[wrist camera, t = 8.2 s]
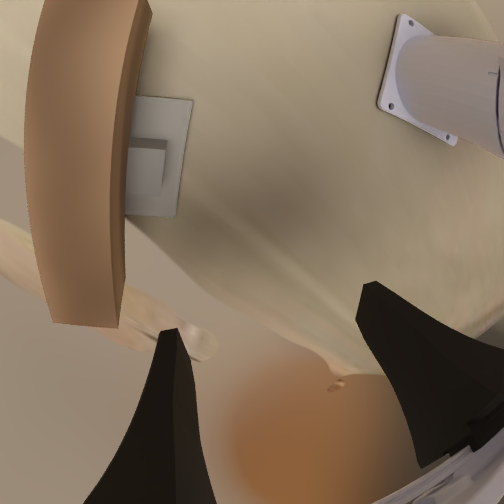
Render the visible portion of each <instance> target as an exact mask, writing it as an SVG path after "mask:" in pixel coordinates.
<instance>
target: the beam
mask: <svg viewBox="0 0 504 504" xmlns="http://www.w3.org/2000/svg"><path fill="white" fill-rule="evenodd" d="M152 14H153V13H152V11H151V8H150V6H149V3H148V1H147V0H45V2H44V5H43V8H42V12H41V16H40V19H39V23H38V27H37V32H36V36H35V41H34V46H33V51H32V56H31V62H30V69H29V76H28V84H27V93H26V105H25V124H24V162H25V182H26V193H27V204H28V212H29V220H30V227H31V233H32V239H33V245H34V250H35V255H36V260H37V265H38V269H39V273H40V278H41V282H42V286H43V289H44V293H45V297H46V300H47V304H48V307H49V310H50V314H51V317H52V320H53V322H54V323H62V324H71V325H81V326H92V327H104V328H118V325H119V317H120V309H121V302H122V296H123V289H124V283H125V244H124V241H125V239H124V229H125V228H124V227H125V226H124V225H125V190H126V172H127V159H128V148H129V138H130V129H131V120H132V113H133V106H134V99H135V93H136V87H137V81H138V75H139V70H140V65H141V60H142V55H143V51H144V46H145V42H146V38H147V33H148V29H149V26H150V22H151V18H152Z"/></svg>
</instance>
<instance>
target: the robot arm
mask: <svg viewBox="0 0 504 504" xmlns="http://www.w3.org/2000/svg"><path fill="white" fill-rule="evenodd" d="M409 22H410V25H409ZM377 104H378V107H379V108H380V109H381V110H383V111H385V112H388V113H390V114H392V115H394V116H396V117H398V118H400V119H402V120H404V121H406V122H409V123H410V124H412V125H414V126H416V127H418V128H420V129H422V130H424V131H426V132H428V133H430V134H431V135H433V136H435V137H437V138H439V139H440V140H442V141H444V142H446V143H447V144H449V145H451V146H455V144H456V143H457V139H458V137H459V138H461V139H463V140H466V141H468V142H470V143H472V144H475V145H477V146H479V147H481V148H483V149H485V150H487V151H489V152H491V153H493V154H495V155H497V156H499V157H501V158H503V159H504V44H503V43H498V42H492V41H486V40H479V39H471V38H461V37H449V36H436V35H434V34H433V33H432V32H430V31H429V30H428V29H426V28H425V27H424V26H422V25H421V24H420V23H418V22H417V21H415V20H414V19H412V18H411V17H410V16H408V15H406V14H400V15H399V16H398V19H397V24H396V29H395V34H394V38H393V43H392V47H391V51H390V55H389V60H388V64H387V68H386V72H385V76H384V79H383V83H382V87H381V91H380V94H379V98H378V103H377ZM389 104H391V107H390V109H389ZM355 320H356V322H357V324H358V327H359V329H360V331H361V333H362V335H363V338H364V340H365V341H366V343H367V345H368V346H369V348H370V350H371V351H372V353H373V355H374V356H375V358H376V359H377V361H378V363H379V364H380V366H381V368H382V369H383V371H384V372H385V374H386V376H387V377H388V379H389V381H390V382H391V385H392V387H393V388H394V391H395V392H396V395H397V398H398V400H399V402H400V404H401V407H402V410H403V412H404V415H405V417H406V420H407V423H408V426H409V430H410V433H411V436H412V440H413V444H414V448H415V452H416V457H417V462H418V464H419V466H420V468H424V467H425V466H427V465H429V464H431V463H432V462H434V461H436V460H437V459H439V458H441V457H442V456H444V455H445V454H447V453H449V454H450V456H451V458H449V459H448V460H447V461H445V462H444V463H442V464H441V465H439V466H438V467H436V468H435V469H433V470H432V471H430V472H429V473H427V474H425V475H424V476H422V477H421V478H419V479H417V480H416V481H414V482H412V483H411V484H409V485H407V486H405V487H404V488H402V489H400V490H398V491H396V492H394V493H392V494H391V495H389V496H387V497H385V498H383V499H381V500H379V501H376V502H374V503H372V504H406V503H408V502H409V501H411V500H413V499H414V498H416V497H418V496H419V495H421V494H423V493H424V492H425V493H424V494H423V495H421V496H420V497H419V498H417V499H416V500H415V501H414V502H413V504H497V503H498V502H499V500H500V499H501V498H502V497H503V495H504V349H500V348H497V347H494V346H491V345H488V344H485V343H482V342H480V341H478V340H475V339H473V338H470V337H468V336H466V335H464V334H462V333H460V332H458V331H456V330H454V329H452V328H450V327H448V326H446V325H444V324H442V323H441V322H439V321H437V320H436V319H434V318H432V317H431V316H429V315H427V314H426V313H424V312H423V311H421V310H420V309H418V308H417V307H415V306H413V305H412V304H410V303H409V302H407V301H406V300H405V299H403V298H402V297H400V296H399V295H397V294H396V293H394V292H393V291H391V290H390V289H388V288H387V287H385V286H384V285H382V284H380V283H379V282H377V281H374V282H370V283H367V284H364V285H363V289H362V293H361V298H360V302H359V306H358V310H357V314H356V318H355ZM444 479H445V482H444V483H442V484H440V485H438V486H436V487H434V486H435V485H437V484H438V483H439V482H441V481H442V480H444ZM432 487H434V488H432ZM431 488H432V489H431ZM429 489H430V490H429ZM427 490H429V491H427ZM426 491H427V492H426ZM83 504H217V503H216V500H215V497H214V493H213V490H212V487H211V483H210V479H209V476H208V472H207V468H206V464H205V460H204V456H203V452H202V447H201V441H200V435H199V424H198V413H197V402H196V391H195V382H194V376H193V371H192V366H191V360H190V358H189V355H188V353H187V350H186V348H185V346H184V343H183V341H182V338H181V336H180V333H179V331H178V328H175V329H169V330H164V331H161V332H160V333H159V336H158V341H157V345H156V349H155V353H154V357H153V361H152V364H151V368H150V371H149V374H148V377H147V380H146V384H145V387H144V389H143V392H142V395H141V398H140V401H139V403H138V406H137V409H136V411H135V414H134V416H133V418H132V421H131V423H130V426H129V428H128V430H127V432H126V434H125V436H124V438H123V440H122V442H121V445H120V446H119V448H118V450H117V452H116V454H115V456H114V458H113V459H112V461H111V463H110V464H109V466H108V468H107V469H106V471H105V473H104V474H103V476H102V477H101V479H100V481H99V482H98V484H97V485H96V486H95V488H94V489H93V491H92V492H91V493H90V495H89V496H88V497H87V499H86V500H85V501H84V503H83Z"/></svg>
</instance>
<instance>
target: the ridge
mask: <svg viewBox="0 0 504 504" xmlns="http://www.w3.org/2000/svg"><path fill="white" fill-rule="evenodd" d="M192 104H193V100H186V99H177V98H166V97H154V96H138V95H135V99H134V106H133V113H132V120H131V129H130V138H129V148H128V159H127V172H126V190H125V215H138V216H154V217H169V218H175V217H176V208H177V199H178V191H179V184H180V176H181V169H182V162H183V156H184V149H185V143H186V137H187V131H188V125H189V120H190V114H191V109H192Z"/></svg>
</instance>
